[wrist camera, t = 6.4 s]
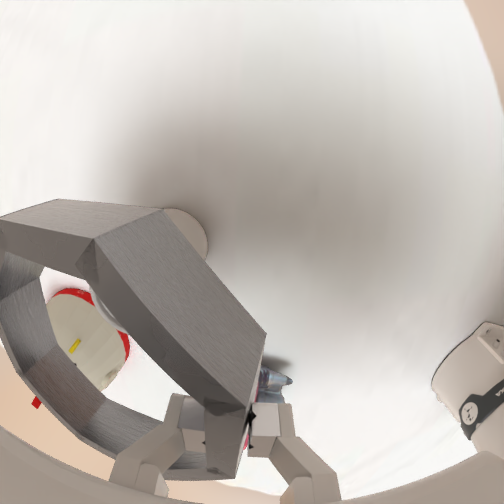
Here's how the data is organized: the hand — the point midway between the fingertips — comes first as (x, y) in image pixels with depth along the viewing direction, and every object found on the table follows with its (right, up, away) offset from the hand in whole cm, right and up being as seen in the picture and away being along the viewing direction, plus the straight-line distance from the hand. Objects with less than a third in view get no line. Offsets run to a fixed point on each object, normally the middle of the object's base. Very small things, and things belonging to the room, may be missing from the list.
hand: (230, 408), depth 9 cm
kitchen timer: (-22, -5, +23) cm, 33 cm away
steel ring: (-6, +1, +2) cm, 6 cm away
